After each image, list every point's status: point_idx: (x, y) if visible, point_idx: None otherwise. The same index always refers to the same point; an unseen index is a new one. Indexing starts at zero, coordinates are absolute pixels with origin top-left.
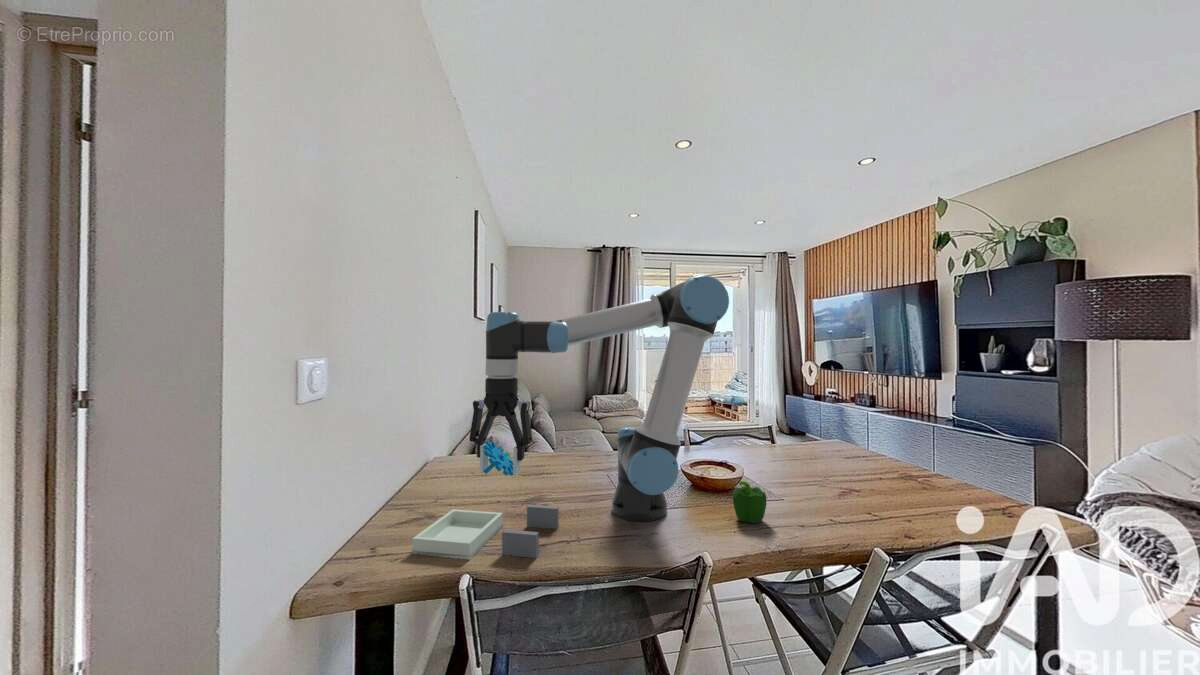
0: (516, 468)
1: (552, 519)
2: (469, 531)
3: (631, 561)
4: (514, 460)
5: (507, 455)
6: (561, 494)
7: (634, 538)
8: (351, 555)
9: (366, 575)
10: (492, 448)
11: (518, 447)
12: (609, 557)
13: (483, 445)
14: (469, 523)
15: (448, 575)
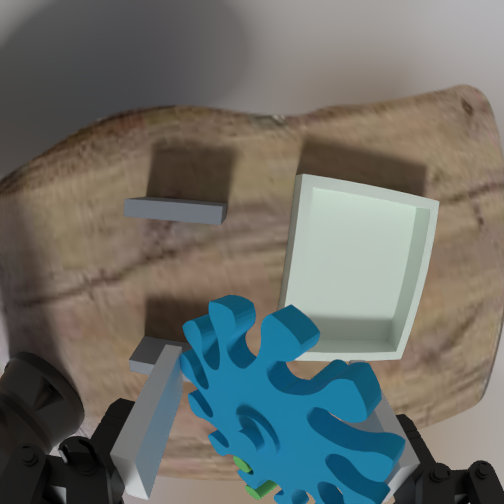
0: (154, 367)
1: (148, 348)
2: (341, 298)
3: (8, 211)
4: (151, 395)
5: (248, 473)
6: (197, 464)
7: (17, 292)
8: (494, 196)
9: (449, 124)
10: (327, 470)
11: (79, 440)
12: (31, 219)
13: (399, 470)
14: (352, 336)
15: (314, 111)
